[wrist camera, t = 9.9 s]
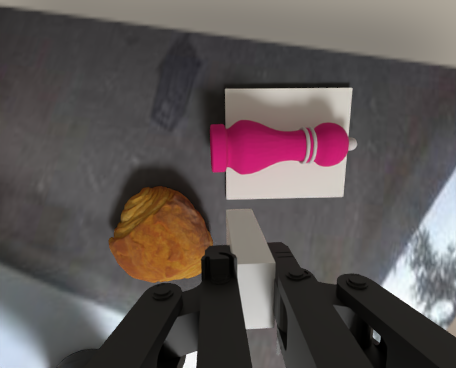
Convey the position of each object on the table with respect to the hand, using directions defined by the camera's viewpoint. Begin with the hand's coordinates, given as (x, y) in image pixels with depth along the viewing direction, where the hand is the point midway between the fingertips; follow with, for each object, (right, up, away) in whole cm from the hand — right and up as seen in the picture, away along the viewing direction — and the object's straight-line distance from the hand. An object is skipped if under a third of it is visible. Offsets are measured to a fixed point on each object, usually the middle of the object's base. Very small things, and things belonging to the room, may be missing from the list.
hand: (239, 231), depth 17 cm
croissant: (-11, -5, +28) cm, 31 cm away
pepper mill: (-3, +7, +21) cm, 22 cm away
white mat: (+8, +9, +26) cm, 28 cm away
